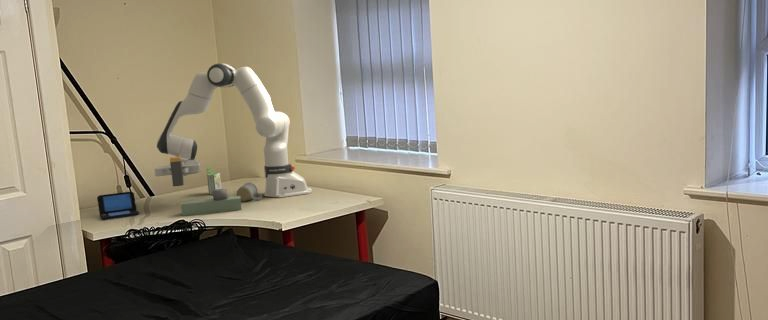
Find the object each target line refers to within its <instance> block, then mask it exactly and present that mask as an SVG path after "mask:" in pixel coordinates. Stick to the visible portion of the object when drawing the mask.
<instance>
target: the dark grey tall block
mask: <svg viewBox="0 0 768 320" xmlns="http://www.w3.org/2000/svg"><path fill="white" fill-rule="evenodd" d="M169 162H170V163H169V165H170V164H171V173H172V175H171V180H172V186H173V187H180V186H184V184H185V180H184V176H183V173H182V161H181V157H176V156H173V157H172V156H171V157H170V158H169Z"/></svg>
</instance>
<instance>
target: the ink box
mask: <svg viewBox="0 0 768 320" xmlns="http://www.w3.org/2000/svg"><path fill="white" fill-rule="evenodd" d="M206 177H207V189H208V195H209V196H213V190H216V189H222V180H221V173H220V172H213V165H211V166H209V167H208V166H207V167H206Z"/></svg>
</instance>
